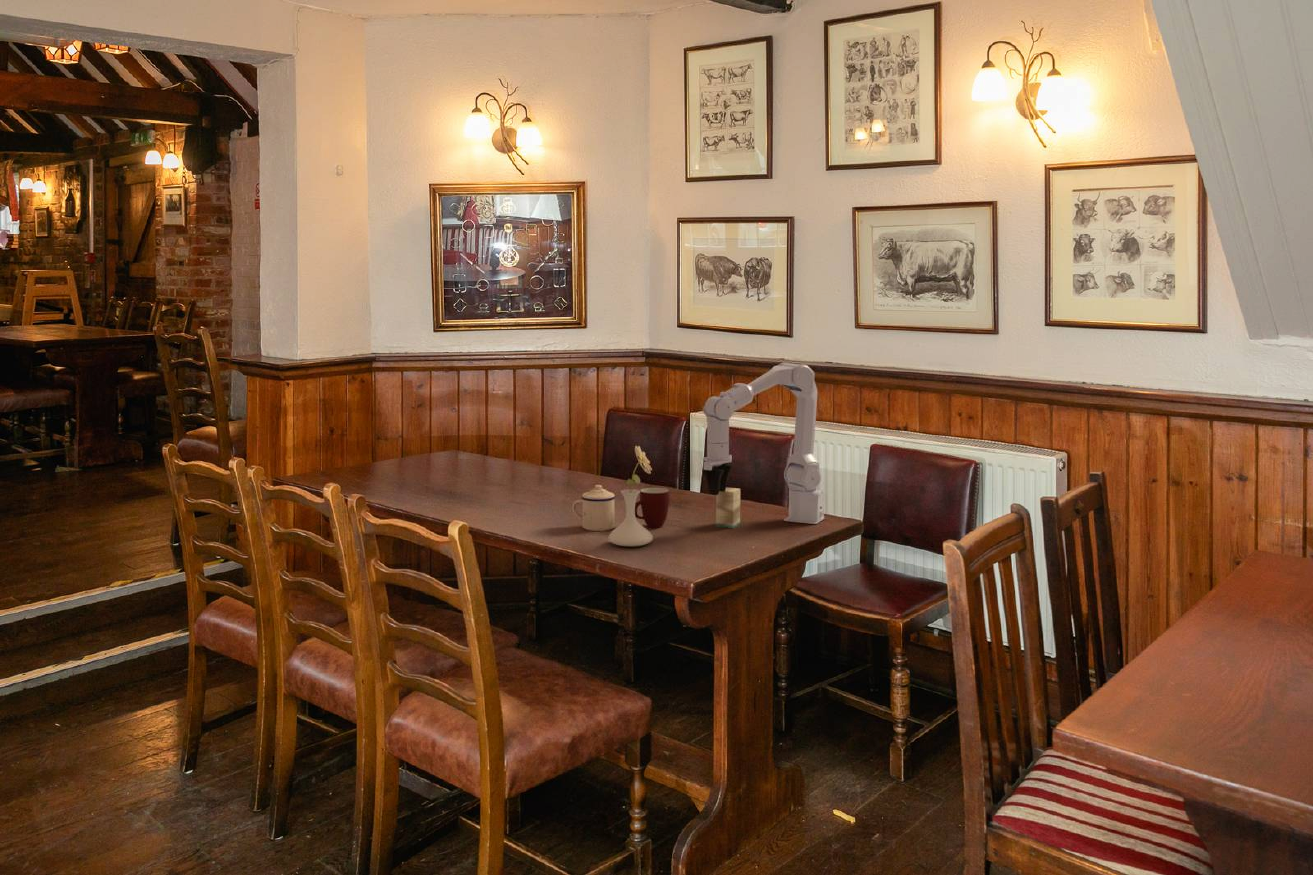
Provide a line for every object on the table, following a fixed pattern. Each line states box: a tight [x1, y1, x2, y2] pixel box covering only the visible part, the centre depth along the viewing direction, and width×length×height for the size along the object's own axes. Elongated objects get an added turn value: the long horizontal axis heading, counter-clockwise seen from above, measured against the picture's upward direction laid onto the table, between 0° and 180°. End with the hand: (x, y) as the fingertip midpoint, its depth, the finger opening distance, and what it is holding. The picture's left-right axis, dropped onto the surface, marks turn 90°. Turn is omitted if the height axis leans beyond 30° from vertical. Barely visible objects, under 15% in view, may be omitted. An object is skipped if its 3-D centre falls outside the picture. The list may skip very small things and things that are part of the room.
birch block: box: [715, 487, 741, 529], centre depth 298 cm, size 5×5×10 cm
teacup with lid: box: [572, 484, 616, 532], centre depth 296 cm, size 12×9×12 cm
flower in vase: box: [608, 445, 654, 547], centre depth 276 cm, size 13×11×25 cm
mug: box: [635, 487, 671, 529], centre depth 296 cm, size 11×8×10 cm
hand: (717, 492), depth 290 cm, fingers open, 4 cm apart
